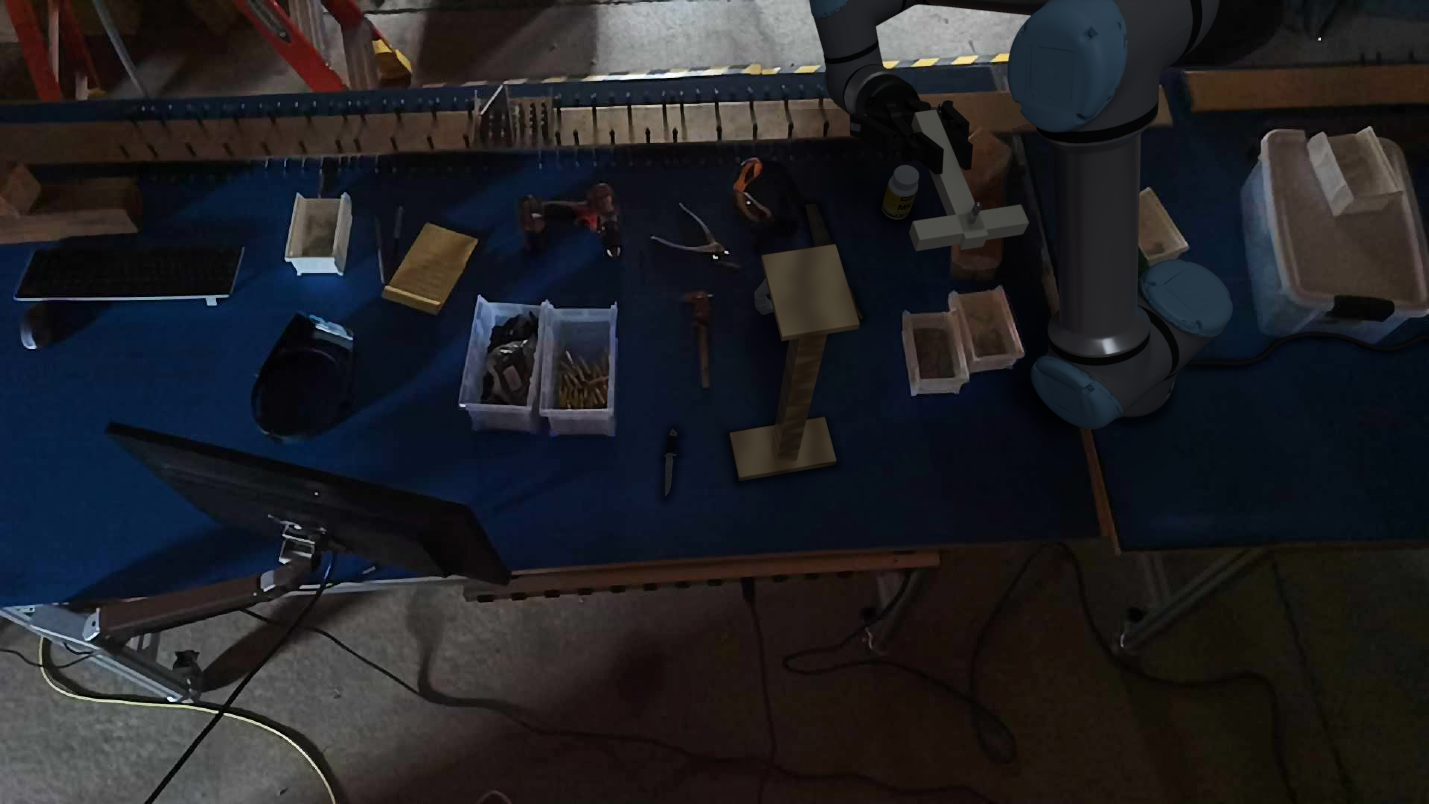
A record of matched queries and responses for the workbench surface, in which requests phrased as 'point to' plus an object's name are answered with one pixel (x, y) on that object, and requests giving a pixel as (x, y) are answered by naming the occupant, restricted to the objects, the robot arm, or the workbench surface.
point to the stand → (798, 361)
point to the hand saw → (822, 236)
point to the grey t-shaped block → (959, 203)
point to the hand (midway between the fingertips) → (954, 159)
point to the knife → (669, 461)
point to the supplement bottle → (900, 192)
